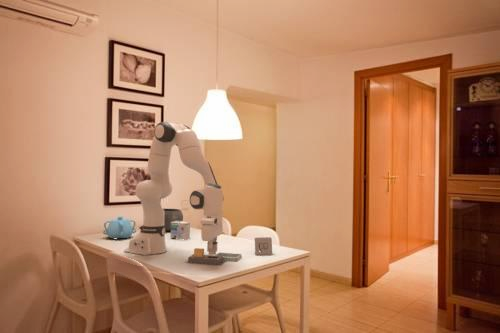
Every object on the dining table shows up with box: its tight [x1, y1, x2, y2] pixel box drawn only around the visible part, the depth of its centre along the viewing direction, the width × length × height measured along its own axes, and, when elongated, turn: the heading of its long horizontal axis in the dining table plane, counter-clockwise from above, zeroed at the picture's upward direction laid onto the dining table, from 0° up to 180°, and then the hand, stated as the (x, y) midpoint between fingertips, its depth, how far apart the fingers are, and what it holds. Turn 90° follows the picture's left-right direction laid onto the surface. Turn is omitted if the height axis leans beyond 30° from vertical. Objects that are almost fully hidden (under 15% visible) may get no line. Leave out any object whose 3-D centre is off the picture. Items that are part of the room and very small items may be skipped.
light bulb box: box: [169, 220, 191, 241], centre depth 238 cm, size 11×7×11 cm, turn 69°
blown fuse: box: [206, 241, 218, 256], centre depth 177 cm, size 4×2×6 cm, turn 76°
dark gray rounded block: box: [163, 208, 184, 232], centre depth 266 cm, size 20×20×15 cm
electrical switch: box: [254, 236, 273, 256], centre depth 200 cm, size 9×5×9 cm, turn 99°
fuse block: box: [184, 253, 227, 267], centre depth 177 cm, size 18×8×4 cm, turn 77°
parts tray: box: [214, 252, 243, 263], centre depth 185 cm, size 12×9×3 cm
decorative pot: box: [102, 216, 137, 239], centre depth 237 cm, size 16×16×14 cm
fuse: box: [193, 247, 205, 257], centre depth 178 cm, size 4×2×6 cm, turn 77°
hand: (212, 247), depth 177 cm, fingers closed on blown fuse, 2 cm apart
